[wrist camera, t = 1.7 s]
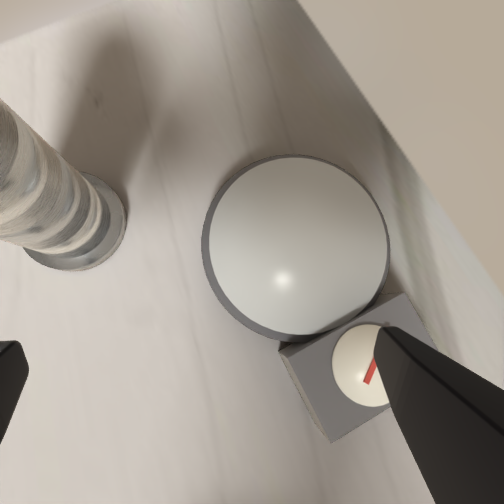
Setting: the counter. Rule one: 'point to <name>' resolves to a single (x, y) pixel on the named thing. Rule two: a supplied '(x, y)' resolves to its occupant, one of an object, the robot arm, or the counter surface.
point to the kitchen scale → (309, 279)
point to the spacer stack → (53, 202)
